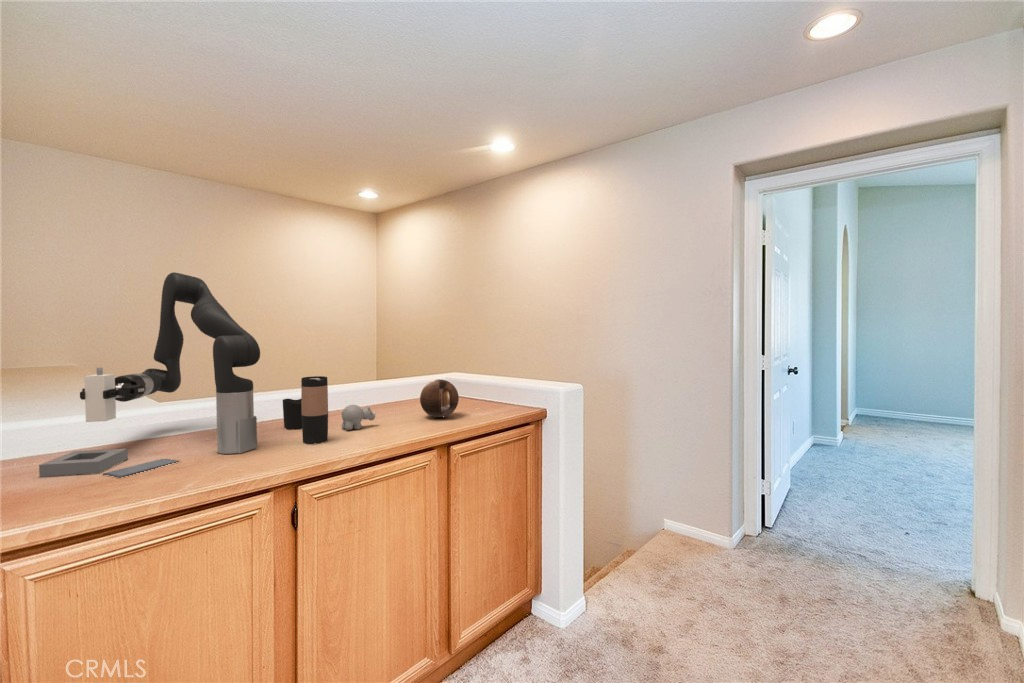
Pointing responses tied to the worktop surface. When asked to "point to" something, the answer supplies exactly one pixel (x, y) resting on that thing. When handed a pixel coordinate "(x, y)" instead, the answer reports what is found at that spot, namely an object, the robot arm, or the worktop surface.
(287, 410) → the pen holder
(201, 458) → the worktop surface
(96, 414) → the white block with peg
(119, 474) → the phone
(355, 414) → the toy rhinoceros
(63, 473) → the block
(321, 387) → the travel mug
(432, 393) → the wooden sphere
